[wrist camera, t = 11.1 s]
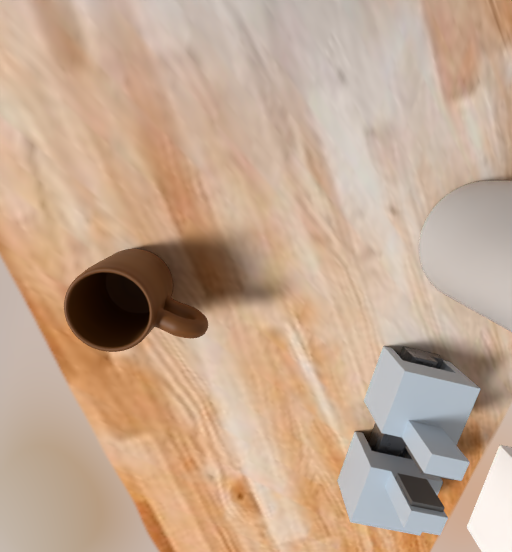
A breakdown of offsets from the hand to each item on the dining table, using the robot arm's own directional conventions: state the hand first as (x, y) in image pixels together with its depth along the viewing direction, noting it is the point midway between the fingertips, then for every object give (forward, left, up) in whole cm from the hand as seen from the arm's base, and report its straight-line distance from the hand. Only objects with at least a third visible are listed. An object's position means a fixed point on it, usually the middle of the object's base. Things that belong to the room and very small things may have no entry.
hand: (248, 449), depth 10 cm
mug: (+6, -8, -32) cm, 33 cm away
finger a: (+21, +21, -31) cm, 43 cm away
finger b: (+10, +21, -31) cm, 39 cm away
